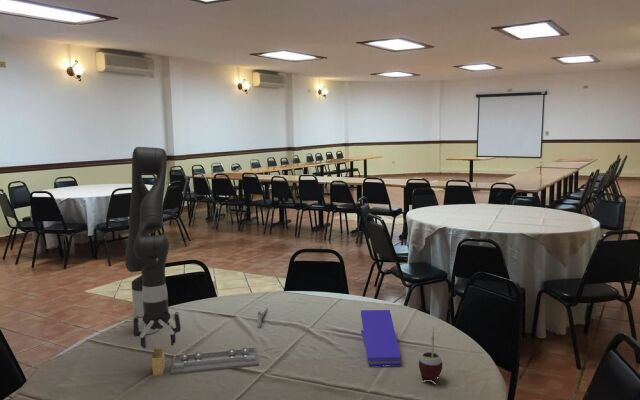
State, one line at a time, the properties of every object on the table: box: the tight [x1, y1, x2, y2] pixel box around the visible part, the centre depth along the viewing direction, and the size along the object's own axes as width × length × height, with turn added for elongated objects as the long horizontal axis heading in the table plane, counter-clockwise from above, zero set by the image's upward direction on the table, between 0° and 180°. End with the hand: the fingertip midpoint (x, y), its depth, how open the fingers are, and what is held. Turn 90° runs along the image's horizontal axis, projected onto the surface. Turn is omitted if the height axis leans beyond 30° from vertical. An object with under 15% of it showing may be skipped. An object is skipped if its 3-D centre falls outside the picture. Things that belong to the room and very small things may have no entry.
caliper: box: [257, 307, 269, 329], centre depth 210 cm, size 20×1×6 cm, turn 178°
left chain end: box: [174, 350, 216, 369], centre depth 171 cm, size 13×8×3 cm, turn 101°
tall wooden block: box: [151, 347, 166, 377], centre depth 167 cm, size 3×7×6 cm, turn 11°
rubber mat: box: [170, 347, 260, 376], centre depth 173 cm, size 28×12×1 cm, turn 101°
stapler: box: [360, 309, 402, 367], centre depth 180 cm, size 12×28×10 cm, turn 2°
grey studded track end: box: [214, 346, 255, 364], centre depth 174 cm, size 13×8×3 cm, turn 101°
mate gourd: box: [418, 326, 444, 383], centre depth 158 cm, size 8×8×15 cm
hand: (158, 346), depth 166 cm, fingers open, 8 cm apart
